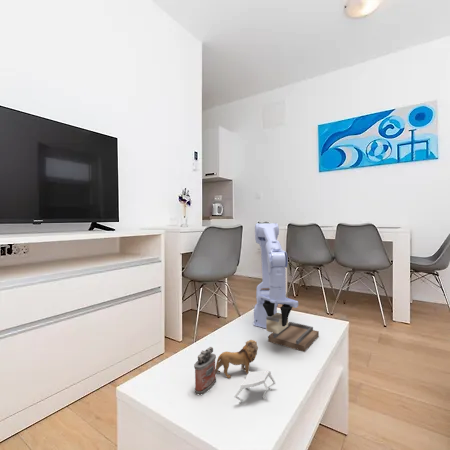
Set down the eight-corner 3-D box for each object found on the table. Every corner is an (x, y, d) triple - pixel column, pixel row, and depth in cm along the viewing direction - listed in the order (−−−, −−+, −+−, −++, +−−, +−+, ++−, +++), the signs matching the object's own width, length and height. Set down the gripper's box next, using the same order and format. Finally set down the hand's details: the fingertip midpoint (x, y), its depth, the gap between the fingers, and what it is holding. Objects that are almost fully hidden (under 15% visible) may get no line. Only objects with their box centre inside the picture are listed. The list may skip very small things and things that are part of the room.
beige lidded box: (266, 332, 95) (266, 316, 95) (277, 324, 101) (276, 310, 101) (278, 335, 92) (277, 319, 92) (288, 327, 99) (288, 312, 99)
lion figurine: (253, 363, 87) (253, 336, 87) (261, 372, 82) (261, 343, 82) (209, 373, 82) (209, 344, 82) (215, 383, 77) (214, 352, 77)
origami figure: (251, 379, 79) (250, 362, 79) (277, 390, 74) (277, 372, 74) (225, 402, 69) (225, 383, 69) (254, 416, 64) (253, 395, 64)
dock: (268, 341, 103) (268, 332, 103) (285, 328, 115) (285, 320, 115) (304, 351, 94) (304, 342, 94) (318, 336, 106) (318, 328, 106)
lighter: (201, 396, 72) (201, 359, 71) (191, 392, 73) (191, 355, 73) (218, 380, 78) (218, 346, 78) (209, 377, 80) (208, 343, 80)
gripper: (253, 285, 98) (254, 322, 98) (292, 291, 89) (292, 332, 89) (263, 281, 103) (263, 316, 104) (300, 286, 95) (300, 325, 95)
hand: (277, 323), depth 97 cm, fingers closed on beige lidded box, 4 cm apart
